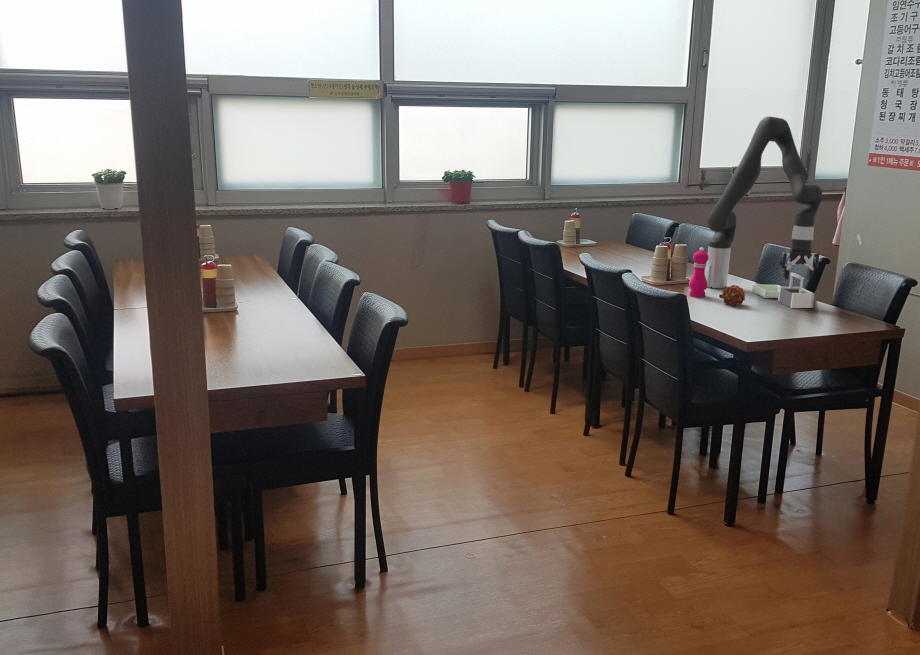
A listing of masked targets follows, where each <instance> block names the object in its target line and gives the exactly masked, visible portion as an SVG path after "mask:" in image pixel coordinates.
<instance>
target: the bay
mask: <svg viewBox="0 0 920 655" xmlns="http://www.w3.org/2000/svg"><path fill="white" fill-rule="evenodd" d="M799 288H800V286H792V289H799ZM781 289H789V286H781V287H780V291H779V299H777V301H779V303H780V294H781ZM802 291H804V292H806V293H792V299H791V307H790V309H791V308H813V309H814V302H815V295H816V293H814V292H812V291H811V290H810V291H809V290H807V288H806V289H805V288H802Z"/></svg>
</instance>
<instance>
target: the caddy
mask: <svg viewBox="0 0 920 655" xmlns="http://www.w3.org/2000/svg"><path fill="white" fill-rule="evenodd" d="M794 278H796V279H798V280H800V281H799V287H800V288H799V289H792V287H793V281H794ZM804 280H805V277H803V276H801V275H799V274H798V273H795V272H790V275H789V286H788V287H789V289H781V294H780V302H781V303H780V302H779V303H780V304H782V303H783V304H782V305H784V306H785V307H787V306H788V308H789V307H791V299H792V293H806V292H804V291H802V288H803V287H804Z"/></svg>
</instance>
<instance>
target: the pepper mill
mask: <svg viewBox="0 0 920 655" xmlns="http://www.w3.org/2000/svg"><path fill="white" fill-rule="evenodd" d="M704 250H705V248H704V247H702V246H701V247H699V249H698V251H695V252H694V254H693V257H692V259H693V261H694V262H693V267H694V271H693V275H692V276H691V278H690V280H689V283H688V287H689V289H690V290H689V292H688V293H689V296H690V297H693V298H705V297H706V291H705V290H707V288H708V287H707V280H706V278H705V267H706V265H707V264H706V263H707V261H708V259H709V256H708V252H706V251H704Z"/></svg>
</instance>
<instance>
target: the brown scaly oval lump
mask: <svg viewBox="0 0 920 655" xmlns="http://www.w3.org/2000/svg"><path fill="white" fill-rule="evenodd" d="M718 297H719V299H722V300H723V303H724V304H725V305H730V306H732V307H736V306H737V305H742V304H743V302H744V301H745V300H746V299H745V298H746V296H745V290H744V289H743V288H742V287H740V286H739V285H737V284H733V285H729V286H727V287H726V288H723V290H722V291H721V293H720V294H719V295H718Z"/></svg>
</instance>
